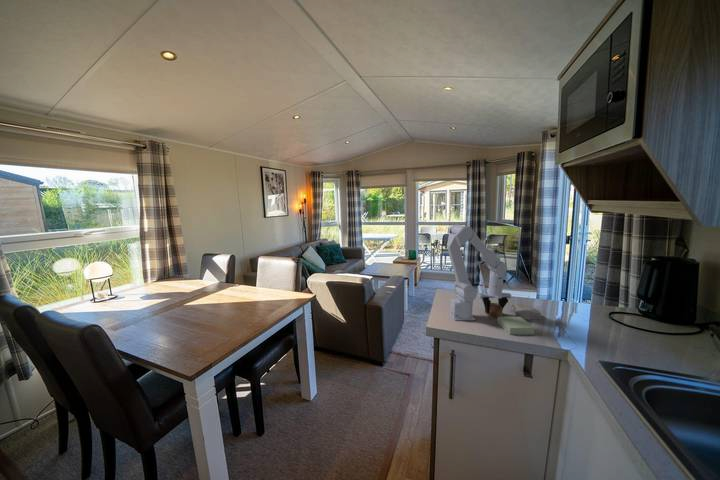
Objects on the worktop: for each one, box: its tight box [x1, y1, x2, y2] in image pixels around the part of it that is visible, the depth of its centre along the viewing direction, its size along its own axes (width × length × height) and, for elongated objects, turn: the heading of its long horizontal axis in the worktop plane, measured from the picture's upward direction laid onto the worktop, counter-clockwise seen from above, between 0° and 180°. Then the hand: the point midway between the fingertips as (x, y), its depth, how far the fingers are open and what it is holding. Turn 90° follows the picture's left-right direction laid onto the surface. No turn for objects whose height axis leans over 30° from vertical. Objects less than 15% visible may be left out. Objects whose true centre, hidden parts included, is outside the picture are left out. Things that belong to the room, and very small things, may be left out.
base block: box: [497, 316, 536, 336], centre depth 112 cm, size 10×10×3 cm
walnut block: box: [484, 302, 504, 319], centre depth 125 cm, size 6×6×5 cm
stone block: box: [510, 302, 542, 321], centre depth 126 cm, size 12×5×10 cm
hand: (493, 312), depth 125 cm, fingers closed on walnut block, 5 cm apart
